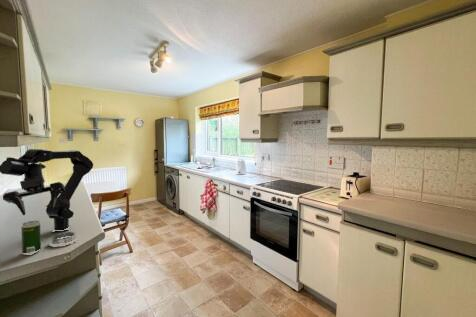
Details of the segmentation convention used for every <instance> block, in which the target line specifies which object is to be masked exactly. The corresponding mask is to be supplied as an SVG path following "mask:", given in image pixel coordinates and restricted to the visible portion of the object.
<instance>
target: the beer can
mask: <svg viewBox="0 0 476 317" xmlns="http://www.w3.org/2000/svg"><path fill="white" fill-rule="evenodd" d="M20 230H21V253H31V252H34V251H37V250H39V249H41V250H42V242H41V241H42V239H41V238H42V236H41V222H40V220H31V221H25V222H23V223H22V224H21V227H20Z"/></svg>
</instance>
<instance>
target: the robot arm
mask: <svg viewBox="0 0 476 317" xmlns="http://www.w3.org/2000/svg"><path fill="white" fill-rule="evenodd" d="M58 159H60V160H61V159H62V160H63V159H70V163H71V164H72V165H73V166H72V173H71V176H70V177H69V179H68V180H67V182H66V184H65V185H64V184H63V183H62V181H58V182H53V183H50V184H49V186H45V181H46V180H45V178H44V175H43V172H42V170H43V169H46V168H47V166H46V165H45V164H43V163H46V162H49V161H52V160H58ZM93 168H94V162H93V161H92V160H91V159H90V158H89V157H88V156H86V155H84V154H83V153H82V152H81V151H80V150H58V151H57V150H48V149H39V148H38V149H34V148H31V149H30V148H29V149H27V150H26V151H25V153H24V154H22V155H21V156H20V157H18V158H15V157H9V156H7V157H6V160H3V161H2V163H1V164H0V173H1V174H2V175H9V176H18V177H21V176H24V178H23V180H21V181H19V183H20V187H21V190H24V191H22V192H18V190H15V191H8V192H4V194H3V195H2V200H3V201H5V202H6V203H8V204H14V205H16V207H17V208H18V210H19V211H20V212H21V215H23V216H25V215H26V209H25V208H26V207H25V203H24V200H23V198H25V197H28V196H34V195H39V194H43V193H47V192H49V194H50V200H49V202H48V204H47V205H46V209H45V212H46V215H47V216H48V218H49V219H52V220H53V229H55V230H64V229H66V228H68V227H69V226H70V223H69V222H70V220H69V219H71V218H73V216H74V212H73V210H71V209H70V207H71V199H72V197H73V195H74V193H75V192H76V190H77V188H78V187H79V185H80V183H81V181H82V179H83V178H84V176H85V175H87V174H89V173H90V172H91V170H92V169H93Z"/></svg>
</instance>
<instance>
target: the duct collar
mask: <svg viewBox="0 0 476 317" xmlns="http://www.w3.org/2000/svg"><path fill="white" fill-rule="evenodd" d="M66 236H71V237H67V238H63V239H57V238H61V237H66ZM76 237H77V232H75V231H63V232H58V233H57V234H54V235H52V236H51V237H50V242H51V243H52V244H60V243H67V242H70V241H72V240H74V239H75V238H76Z"/></svg>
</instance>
